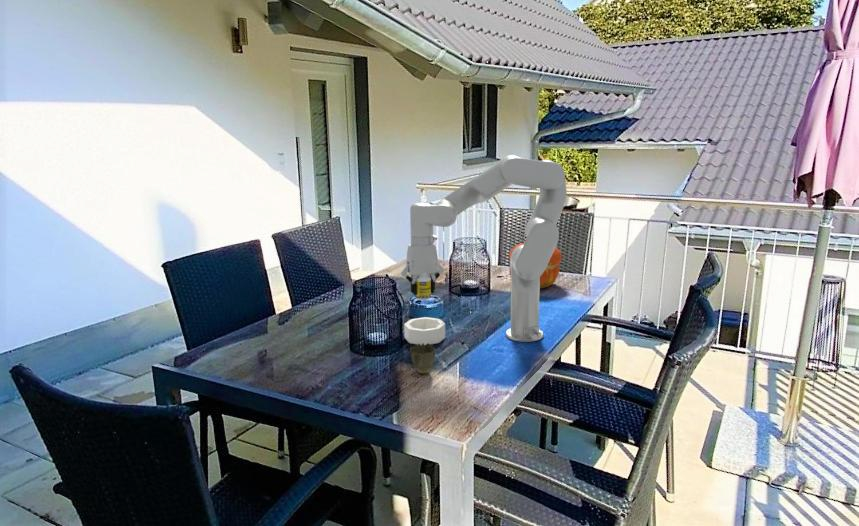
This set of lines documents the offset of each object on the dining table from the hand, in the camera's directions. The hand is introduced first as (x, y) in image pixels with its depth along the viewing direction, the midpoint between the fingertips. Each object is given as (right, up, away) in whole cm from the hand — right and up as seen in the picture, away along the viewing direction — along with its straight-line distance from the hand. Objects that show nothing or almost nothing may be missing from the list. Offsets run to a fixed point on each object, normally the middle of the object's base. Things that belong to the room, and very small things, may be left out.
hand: (422, 292), depth 199 cm
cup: (0, -23, -24) cm, 33 cm away
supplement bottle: (0, -2, 0) cm, 2 cm away
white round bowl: (+1, -16, +4) cm, 16 cm away
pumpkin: (+49, 0, +63) cm, 80 cm away
